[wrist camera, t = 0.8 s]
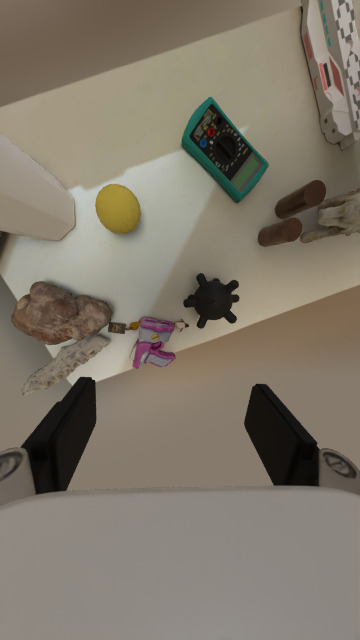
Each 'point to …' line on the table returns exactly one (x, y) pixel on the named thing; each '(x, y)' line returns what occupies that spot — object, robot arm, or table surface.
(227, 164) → the digital multimeter
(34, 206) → the cup
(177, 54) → the table surface
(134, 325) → the key tag
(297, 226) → the peg mid
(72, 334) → the rock
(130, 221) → the yellow light bulb
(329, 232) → the figurine
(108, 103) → the table surface
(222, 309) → the toy ball
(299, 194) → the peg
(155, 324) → the toy gun
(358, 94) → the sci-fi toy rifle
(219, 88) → the table surface
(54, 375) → the fossil
